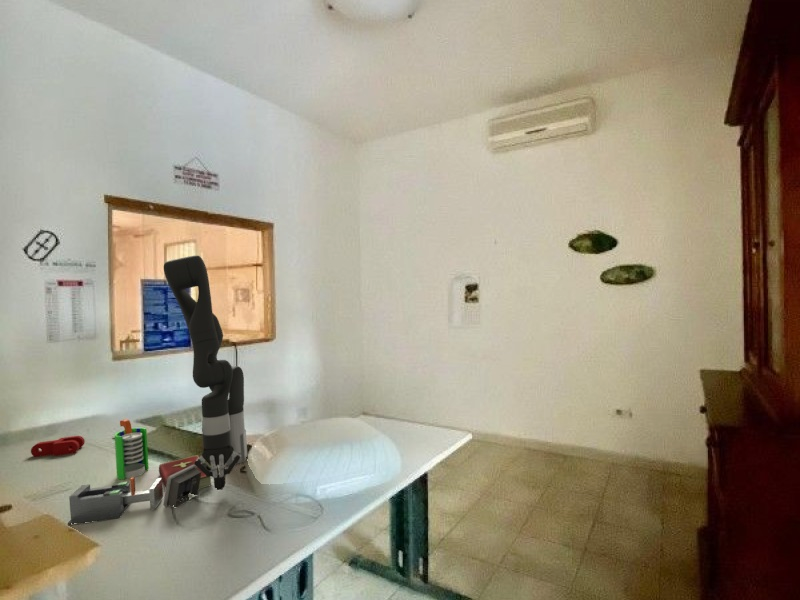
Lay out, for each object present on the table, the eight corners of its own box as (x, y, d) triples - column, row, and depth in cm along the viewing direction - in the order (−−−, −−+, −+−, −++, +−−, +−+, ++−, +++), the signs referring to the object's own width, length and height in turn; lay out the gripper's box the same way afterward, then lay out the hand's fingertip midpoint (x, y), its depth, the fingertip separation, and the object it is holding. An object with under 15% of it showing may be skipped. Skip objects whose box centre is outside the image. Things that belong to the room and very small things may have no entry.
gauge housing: (133, 500, 126) (131, 476, 126) (119, 518, 116) (117, 492, 116) (86, 507, 124) (84, 482, 123) (67, 525, 114) (65, 499, 114)
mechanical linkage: (85, 447, 175) (84, 434, 175) (78, 453, 168) (77, 440, 168) (37, 453, 170) (36, 441, 170) (28, 460, 163) (27, 447, 163)
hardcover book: (169, 499, 127) (168, 485, 126) (159, 476, 144) (158, 463, 144) (212, 487, 134) (211, 473, 133) (198, 466, 151) (197, 454, 151)
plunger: (163, 496, 126) (161, 469, 126) (155, 508, 120) (153, 480, 119) (112, 504, 124) (110, 476, 123) (101, 516, 117) (99, 487, 117)
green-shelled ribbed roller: (131, 480, 141) (127, 425, 140) (110, 479, 142) (106, 424, 142) (152, 468, 150) (149, 416, 149) (132, 467, 151) (128, 416, 151)
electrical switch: (190, 492, 130) (190, 462, 129) (203, 496, 128) (203, 466, 127) (162, 508, 121) (162, 475, 120) (176, 512, 119) (176, 480, 118)
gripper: (242, 423, 131) (245, 480, 131) (195, 428, 128) (198, 486, 129) (238, 431, 124) (242, 491, 124) (188, 436, 121) (192, 498, 121)
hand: (220, 488), depth 126 cm, fingers closed
